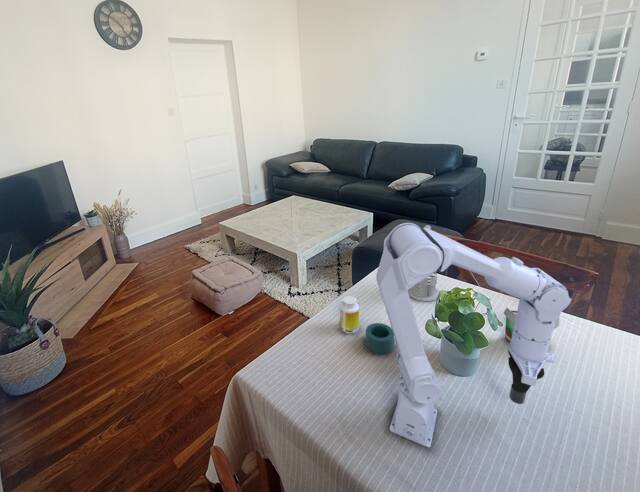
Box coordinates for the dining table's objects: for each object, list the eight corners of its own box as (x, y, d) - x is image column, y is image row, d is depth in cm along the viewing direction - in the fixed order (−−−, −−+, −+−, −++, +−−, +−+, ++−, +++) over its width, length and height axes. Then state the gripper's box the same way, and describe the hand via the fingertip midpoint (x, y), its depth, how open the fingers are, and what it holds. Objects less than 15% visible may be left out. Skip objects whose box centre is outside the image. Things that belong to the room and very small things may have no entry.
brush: (524, 406, 68) (531, 377, 65) (509, 401, 69) (515, 373, 67) (523, 396, 70) (530, 368, 67) (508, 391, 71) (514, 364, 69)
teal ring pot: (389, 357, 89) (390, 344, 88) (362, 349, 93) (362, 335, 92) (396, 340, 95) (396, 327, 94) (370, 333, 99) (370, 320, 97)
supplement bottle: (362, 328, 101) (363, 299, 98) (350, 337, 98) (350, 307, 94) (348, 320, 105) (348, 292, 102) (336, 328, 102) (335, 299, 99)
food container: (507, 353, 88) (513, 321, 84) (498, 337, 93) (504, 306, 90) (562, 358, 85) (571, 325, 81) (550, 341, 90) (558, 310, 86)
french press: (429, 283, 120) (435, 218, 111) (446, 302, 109) (454, 231, 100) (402, 286, 120) (406, 221, 111) (416, 305, 109) (422, 235, 100)
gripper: (564, 364, 56) (547, 423, 61) (554, 316, 67) (540, 368, 72) (513, 351, 59) (501, 407, 64) (511, 307, 71) (501, 357, 76)
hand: (519, 386), depth 68 cm, fingers closed on brush
